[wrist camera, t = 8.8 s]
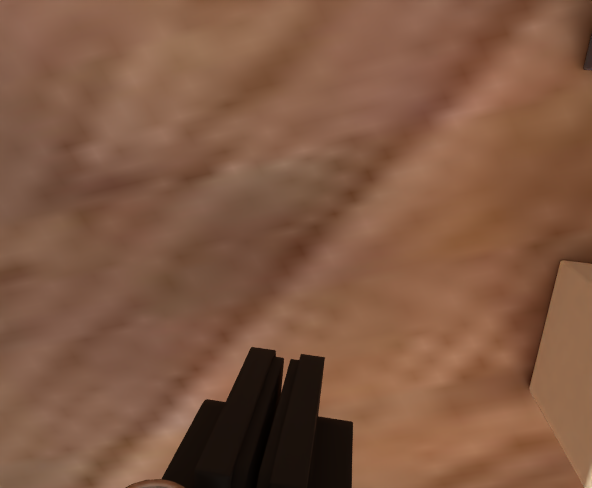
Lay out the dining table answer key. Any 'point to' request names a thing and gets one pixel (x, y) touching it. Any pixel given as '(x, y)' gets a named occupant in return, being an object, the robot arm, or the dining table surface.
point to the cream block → (568, 366)
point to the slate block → (589, 57)
